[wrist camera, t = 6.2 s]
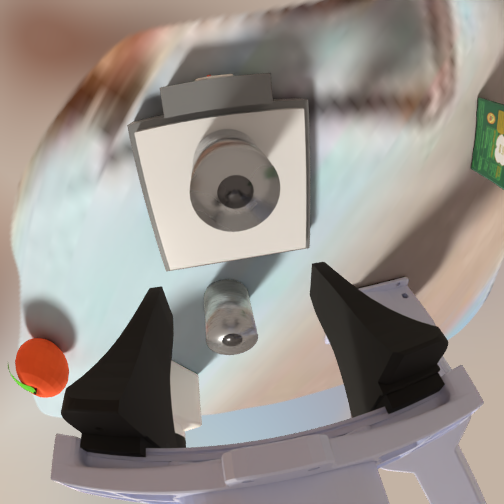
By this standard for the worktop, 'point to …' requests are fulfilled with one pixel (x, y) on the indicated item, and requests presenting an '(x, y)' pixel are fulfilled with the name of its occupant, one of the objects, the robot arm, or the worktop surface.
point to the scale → (181, 160)
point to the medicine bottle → (184, 401)
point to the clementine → (41, 368)
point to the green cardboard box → (489, 142)
